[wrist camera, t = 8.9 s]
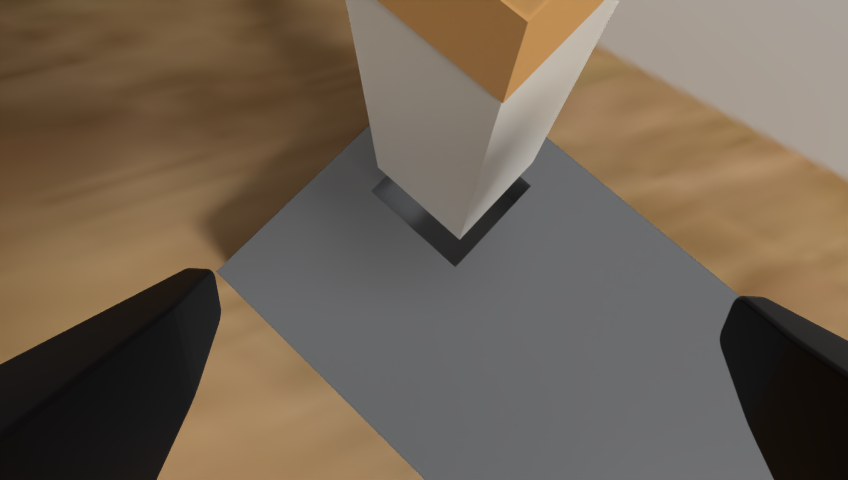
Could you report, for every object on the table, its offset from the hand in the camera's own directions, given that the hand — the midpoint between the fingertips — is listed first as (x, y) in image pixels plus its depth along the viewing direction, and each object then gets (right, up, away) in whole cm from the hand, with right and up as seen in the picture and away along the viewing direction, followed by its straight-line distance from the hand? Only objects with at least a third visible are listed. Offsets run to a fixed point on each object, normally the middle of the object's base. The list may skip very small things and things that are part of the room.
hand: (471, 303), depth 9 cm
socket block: (+3, -3, +12) cm, 13 cm away
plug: (0, +3, +9) cm, 10 cm away
